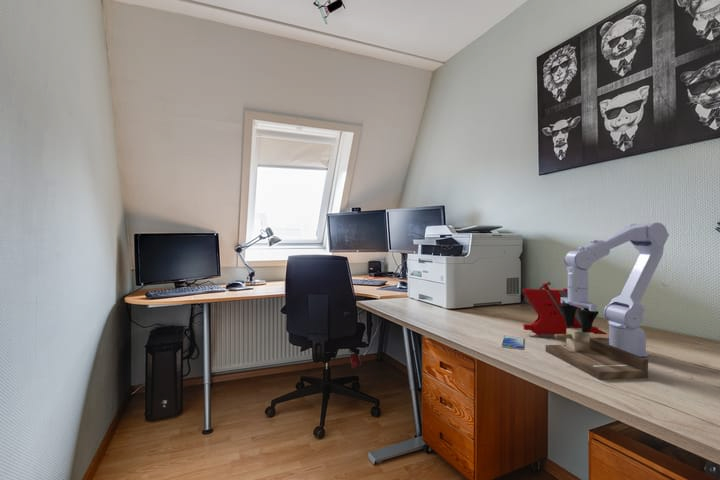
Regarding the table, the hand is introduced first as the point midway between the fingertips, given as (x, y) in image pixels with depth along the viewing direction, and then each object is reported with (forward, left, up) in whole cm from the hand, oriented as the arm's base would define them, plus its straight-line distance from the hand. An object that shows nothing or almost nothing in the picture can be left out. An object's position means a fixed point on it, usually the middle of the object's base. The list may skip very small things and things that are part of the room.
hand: (577, 329), depth 115 cm
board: (+1, +8, -8) cm, 12 cm away
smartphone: (+14, -14, -9) cm, 22 cm away
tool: (-10, -21, -9) cm, 25 cm away
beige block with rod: (+2, 0, -6) cm, 7 cm away
